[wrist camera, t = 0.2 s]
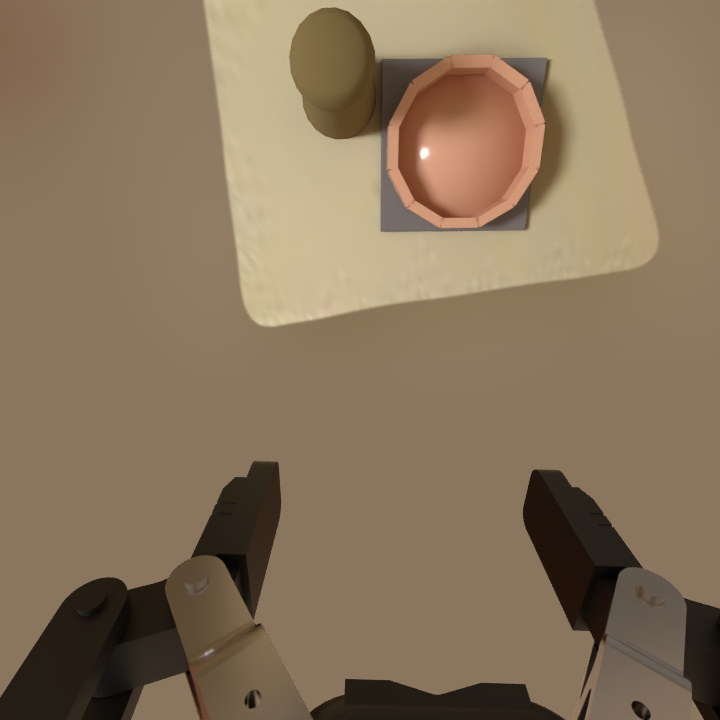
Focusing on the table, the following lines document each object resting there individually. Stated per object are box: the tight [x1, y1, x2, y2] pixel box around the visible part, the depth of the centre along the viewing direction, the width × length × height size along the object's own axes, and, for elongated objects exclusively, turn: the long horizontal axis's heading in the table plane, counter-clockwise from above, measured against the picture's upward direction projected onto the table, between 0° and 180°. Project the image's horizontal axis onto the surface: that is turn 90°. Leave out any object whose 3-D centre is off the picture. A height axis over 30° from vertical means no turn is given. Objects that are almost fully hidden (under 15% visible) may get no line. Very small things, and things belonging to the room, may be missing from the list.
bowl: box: [386, 55, 545, 228], centre depth 34 cm, size 12×12×2 cm
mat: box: [381, 58, 547, 232], centre depth 35 cm, size 13×13×1 cm
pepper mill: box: [289, 8, 376, 139], centre depth 29 cm, size 6×6×11 cm
